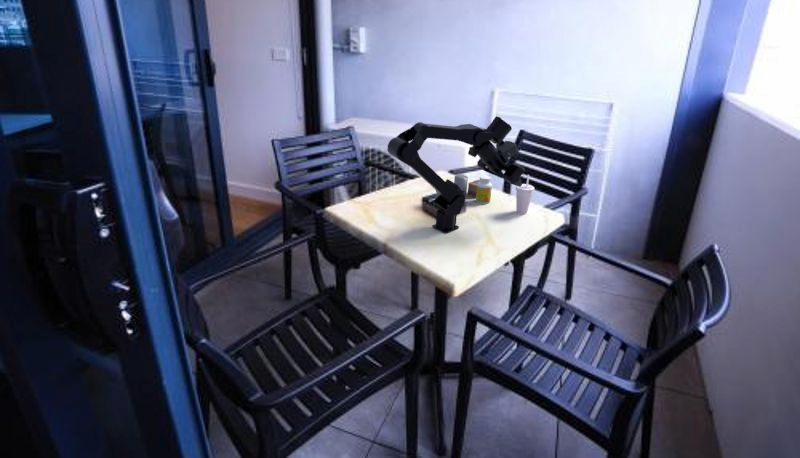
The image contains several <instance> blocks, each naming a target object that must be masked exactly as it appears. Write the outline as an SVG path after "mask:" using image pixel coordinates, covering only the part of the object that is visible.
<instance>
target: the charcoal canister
mask: <svg viewBox="0 0 800 458" xmlns="http://www.w3.org/2000/svg"><path fill="white" fill-rule="evenodd" d="M453 179H454V181H453V182H454V183H455V184H457V185H458V186H459V188H460V189H462V190H463V191H465V192H464V194H465V196H466V197H467V195H468V183H469V177H468V176H467V175H464V174H456V175H454V178H453Z"/></svg>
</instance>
